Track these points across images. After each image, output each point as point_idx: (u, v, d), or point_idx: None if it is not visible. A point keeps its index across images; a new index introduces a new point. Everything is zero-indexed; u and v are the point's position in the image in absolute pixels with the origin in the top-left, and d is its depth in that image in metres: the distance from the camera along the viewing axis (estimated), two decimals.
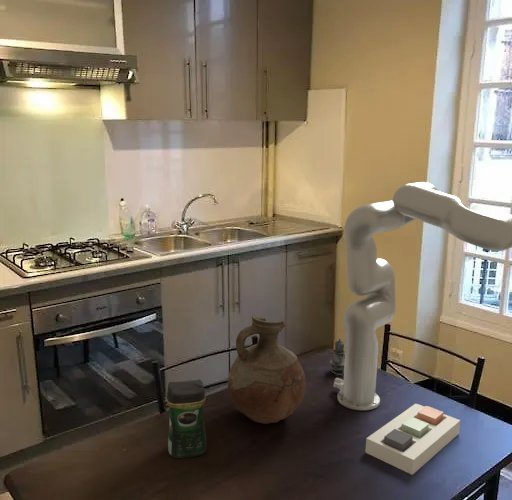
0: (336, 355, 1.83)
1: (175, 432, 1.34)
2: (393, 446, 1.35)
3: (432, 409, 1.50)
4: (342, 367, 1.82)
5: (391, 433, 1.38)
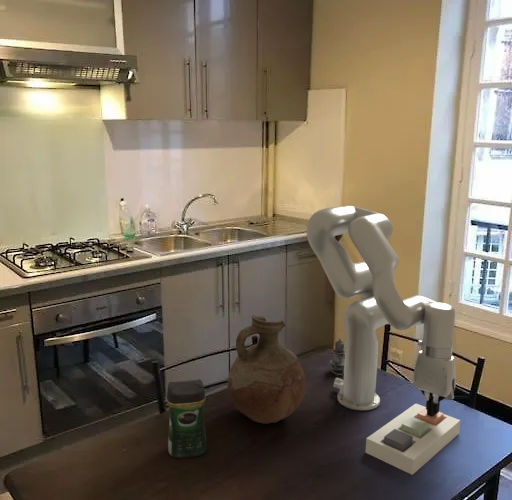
0: (336, 354, 1.83)
1: (175, 432, 1.34)
2: (393, 446, 1.35)
3: None
4: (342, 367, 1.82)
5: (391, 433, 1.38)
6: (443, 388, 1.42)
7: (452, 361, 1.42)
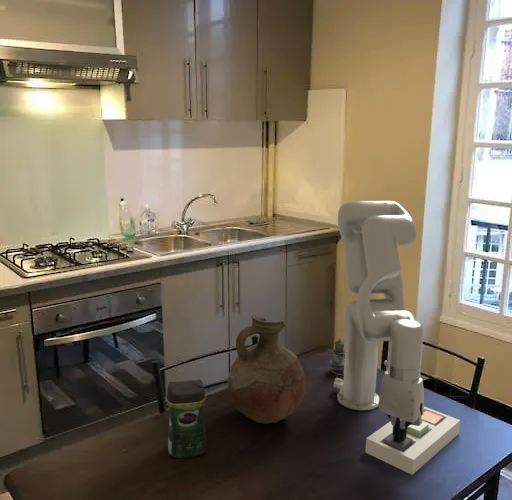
0: (336, 355, 1.83)
1: (175, 432, 1.34)
2: None
3: (432, 414, 1.51)
4: (342, 367, 1.82)
5: (391, 436, 1.38)
6: (410, 413, 1.30)
7: (420, 384, 1.30)
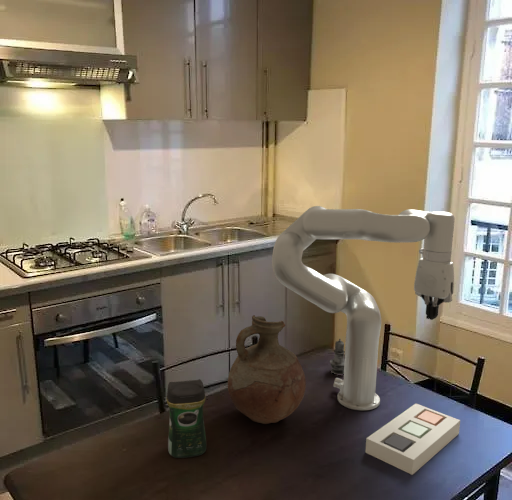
0: (336, 355, 1.83)
1: (175, 432, 1.34)
2: None
3: (432, 414, 1.51)
4: (342, 367, 1.82)
5: (391, 438, 1.39)
6: (442, 290, 1.52)
7: (451, 265, 1.52)
